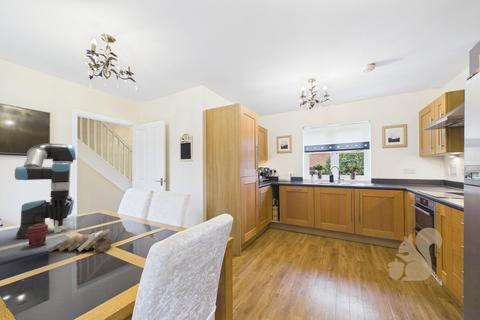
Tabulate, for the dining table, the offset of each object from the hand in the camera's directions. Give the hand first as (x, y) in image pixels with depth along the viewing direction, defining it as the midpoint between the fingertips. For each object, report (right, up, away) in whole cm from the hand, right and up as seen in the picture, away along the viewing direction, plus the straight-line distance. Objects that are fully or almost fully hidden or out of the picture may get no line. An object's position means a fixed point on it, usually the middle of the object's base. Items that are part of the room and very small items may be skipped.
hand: (57, 231), depth 108 cm
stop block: (+26, -10, 0) cm, 27 cm away
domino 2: (+4, -9, 0) cm, 10 cm away
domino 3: (+9, -9, 0) cm, 13 cm away
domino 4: (+14, -9, 0) cm, 17 cm away
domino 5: (+18, -8, 0) cm, 20 cm away
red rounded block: (-18, -11, +6) cm, 22 cm away
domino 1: (-2, -9, 0) cm, 9 cm away
